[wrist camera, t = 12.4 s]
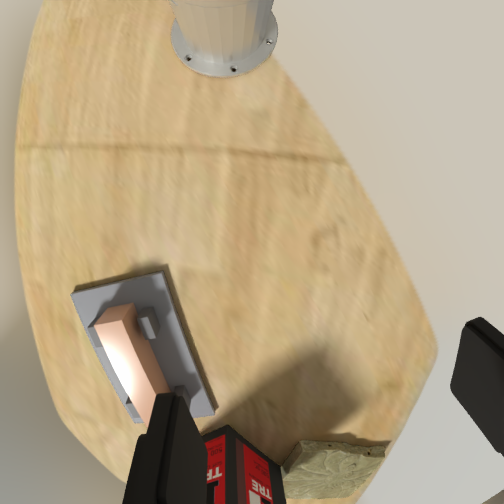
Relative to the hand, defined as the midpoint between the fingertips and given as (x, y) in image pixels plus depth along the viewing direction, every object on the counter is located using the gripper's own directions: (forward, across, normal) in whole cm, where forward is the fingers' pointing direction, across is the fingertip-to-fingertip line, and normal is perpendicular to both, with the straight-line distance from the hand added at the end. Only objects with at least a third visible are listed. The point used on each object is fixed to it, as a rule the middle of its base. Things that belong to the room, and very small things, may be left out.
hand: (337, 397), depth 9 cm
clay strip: (+29, +19, +17) cm, 38 cm away
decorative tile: (+29, -5, +52) cm, 60 cm away
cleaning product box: (+29, +11, +42) cm, 52 cm away
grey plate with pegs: (+30, +19, +17) cm, 39 cm away
